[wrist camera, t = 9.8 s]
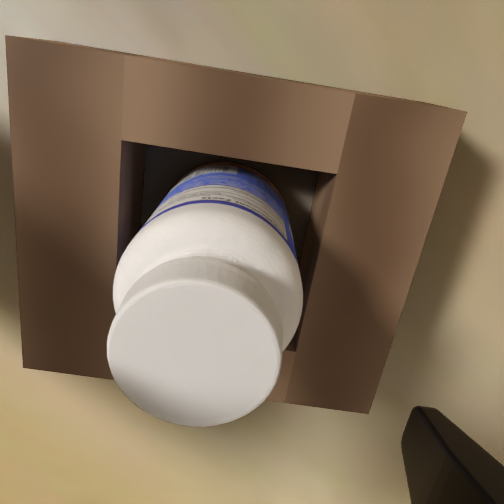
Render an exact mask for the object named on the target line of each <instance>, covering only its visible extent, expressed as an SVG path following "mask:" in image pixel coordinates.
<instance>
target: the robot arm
mask: <svg viewBox="0 0 504 504" xmlns="http://www.w3.org/2000/svg"><path fill="white" fill-rule="evenodd" d="M401 448H402V454H403V460H404V465H405V471H406V476H407V482H408V488H409V493H410V499H411V504H504V466H503V465H502V464H501V463H499V462H498V461H497V460H496V459H495V458H494V457H492V456H491V455H490V454H489V453H488V452H487V451H485V450H484V449H483V448H482V447H481V446H480V445H478V444H477V443H476V442H475V441H474V440H472V439H471V438H470V437H469V436H468V435H467V434H465V433H464V432H463V431H462V430H461V429H460V428H458V427H457V426H456V425H455V424H454V423H453V422H451V421H450V420H449V419H448V418H447V417H446V416H444V415H443V414H442V413H441V412H440V411H438V410H437V409H435V408H430V407H423V406H416V407H414V408H413V409H412V411H411V414H410V417H409V419H408V422H407V425H406V427H405V430H404V433H403V436H402V440H401Z"/></svg>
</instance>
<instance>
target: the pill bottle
mask: <svg viewBox="0 0 504 504" xmlns="http://www.w3.org/2000/svg"><path fill="white" fill-rule="evenodd" d="M113 303H114V309H115V313H116V315H115V317H114V319H113V321H112V324H111V327H110V330H109V334H108V338H107V358H108V363H109V367H110V370H111V373H112V375H113V377H114V380H115V382H116V383H117V385H118V386H119V388H120V389H121V390H122V392H123V393H124V394H125V395H126V396H127V397H128V398H129V399H130V400H131V401H132V402H133V403H134V404H135V405H136V406H138V407H139V408H140V409H142V410H143V411H145V412H147V413H148V414H150V415H152V416H154V417H156V418H158V419H161V420H164V421H166V422H170V423H173V424H178V425H183V426H193V427H207V426H215V425H220V424H225V423H228V422H232V421H234V420H237V419H239V418H241V417H243V416H245V415H247V414H248V413H250V412H251V411H253V410H254V409H255V408H257V407H258V406H259V405H260V404H261V403H262V402H263V401H264V400H265V399H266V398H267V397H268V396H269V394H270V393H271V391H272V390H273V388H274V386H275V384H276V383H277V380H278V377H279V374H280V369H281V363H282V352H283V351H284V350H285V348H286V347H287V346H288V344H289V343H290V341H291V340H292V338H293V336H294V334H295V332H296V329H297V327H298V325H299V321H300V317H301V313H302V307H303V288H302V281H301V276H300V271H299V266H298V261H297V257H296V252H295V247H294V241H293V236H292V230H291V225H290V219H289V215H288V211H287V207H286V205H285V203H284V200H283V198H282V196H281V195H280V193H279V192H278V190H277V189H276V188H275V186H274V185H273V184H272V183H271V182H270V181H269V180H268V179H267V178H266V177H264V176H263V175H262V174H260V173H259V172H257V171H255V170H254V169H252V168H249V167H247V166H244V165H241V164H237V163H230V162H216V163H210V164H206V165H203V166H200V167H198V168H195V169H194V170H192V171H190V172H189V173H187V174H186V175H184V176H183V177H182V178H181V179H180V180H179V181H178V182H177V183H176V184H175V185H174V186H173V187H172V188H171V190H170V191H169V192H168V194H167V195H166V197H165V198H164V199H163V201H162V202H161V203H160V205H159V206H158V207H157V209H156V210H155V211H154V213H153V214H152V215H151V216H150V218H149V219H148V220H147V222H146V223H145V224H144V225H143V227H142V228H141V229H140V230H139V232H138V233H137V234H136V236H135V237H134V238H133V239H132V241H131V242H130V243H129V245H128V246H127V248H126V250H125V251H124V253H123V255H122V257H121V259H120V261H119V263H118V266H117V269H116V273H115V277H114V283H113Z"/></svg>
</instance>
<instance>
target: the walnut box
mask: <svg viewBox="0 0 504 504" xmlns="http://www.w3.org/2000/svg"><path fill="white" fill-rule="evenodd" d="M5 40H6V59H7V78H8V96H9V115H10V134H11V152H12V171H13V190H14V208H15V227H16V246H17V264H18V283H19V302H20V320H21V339H22V357H23V368H29V369H37V370H44V371H51V372H59V373H66V374H74V375H81V376H89V377H96V378H104V379H111V380H114V377H113V375H112V373H111V370H110V367H109V363H108V358H107V338H108V334H109V330H110V327H111V324H112V321H113V319H114V317H115V315H116V313H115V309H114V303H113V283H114V277H115V273H116V269H117V266H118V263H119V261H120V259H121V257H122V255H123V253H124V251H125V250H126V248H127V246H128V245H129V243H130V242H131V241H132V239H133V238H134V237H135V236H136V234H137V233H138V232H139V230H140V229H141V214H142V198H143V181H144V165H145V149H146V144H149V145H156V146H162V147H169V148H175V149H181V150H188V151H194V152H200V153H207V154H213V155H219V156H226V157H232V158H238V159H245V160H251V161H257V162H264V163H270V164H276V165H283V166H289V167H295V168H302V169H308V170H314V171H319V175H318V180H317V185H316V189H315V194H314V199H313V203H312V208H311V213H310V217H309V222H308V227H307V231H306V236H305V241H304V245H303V250H302V255H301V259H300V264H299V271H300V276H301V281H302V288H303V307H302V313H301V317H300V321H299V325H298V327H297V329H296V332H295V334H294V336H293V338H292V340H291V341H290V343H289V344H288V346H287V347H286V348H285V350H284V351H283V352H282V363H281V369H280V374H279V377H278V380H277V383H276V384H275V386H274V388H273V390H272V391H271V393H270V394H269V396H268V397H267V398H266V399H265V400H268V401H275V402H283V403H290V404H298V405H305V406H312V407H320V408H327V409H335V410H342V411H350V412H357V413H365V414H369V411H370V408H371V405H372V402H373V399H374V396H375V393H376V390H377V387H378V383H379V380H380V377H381V374H382V371H383V368H384V365H385V362H386V359H387V356H388V353H389V350H390V347H391V344H392V341H393V338H394V334H395V331H396V328H397V325H398V322H399V319H400V316H401V313H402V310H403V307H404V304H405V301H406V298H407V295H408V292H409V289H410V285H411V282H412V279H413V276H414V273H415V270H416V267H417V264H418V261H419V258H420V255H421V252H422V249H423V246H424V243H425V240H426V237H427V233H428V230H429V227H430V224H431V221H432V218H433V215H434V212H435V209H436V206H437V203H438V200H439V197H440V194H441V191H442V188H443V184H444V181H445V178H446V175H447V172H448V169H449V166H450V163H451V160H452V157H453V154H454V151H455V148H456V145H457V142H458V139H459V135H460V132H461V129H462V126H463V123H464V120H465V117H466V114H467V112H465V111H460V110H456V109H452V108H447V107H443V106H439V105H434V104H430V103H425V102H419V101H413V100H407V99H401V98H395V97H389V96H383V95H377V94H371V93H365V92H359V91H353V90H347V89H341V88H335V87H328V86H322V85H316V84H310V83H304V82H298V81H292V80H286V79H280V78H274V77H268V76H262V75H256V74H250V73H244V72H238V71H232V70H226V69H220V68H214V67H208V66H202V65H196V64H190V63H184V62H178V61H172V60H166V59H160V58H154V57H148V56H142V55H136V54H130V53H124V52H118V51H112V50H106V49H100V48H94V47H88V46H82V45H76V44H70V43H64V42H58V41H50V40H42V39H33V38H24V37H15V36H7V35H5Z"/></svg>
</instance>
